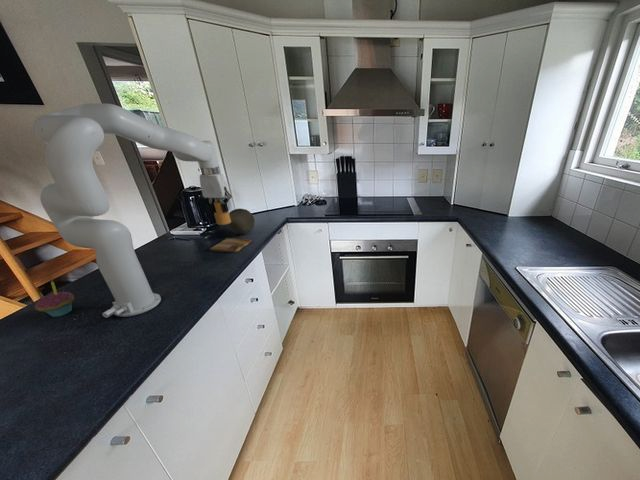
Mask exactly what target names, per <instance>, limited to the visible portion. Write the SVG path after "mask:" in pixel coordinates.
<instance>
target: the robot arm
mask: <svg viewBox="0 0 640 480" xmlns="http://www.w3.org/2000/svg"><path fill="white" fill-rule="evenodd" d="M32 130H33V132H34V134H35V136H36V137H37V138H38V139H39V140H40V141H41V142H43V143H44V144H46V147H45V153H44V160H45V164H46V168H47V169H48V172H49V174H50V176H51V178H52V180H53V182H52V183H49V184H47V185H46V186H43V188H42V189H41V192H40V198H39V199H40V203H41V205H42V207H43V208H42V209H44V211H45V213H46V215H47V216H48V218H49V219H50V221H51V223H52V224H53V226H54V228H55V229H56V231H57V233H58V234H59V235H60V237H61V238H62V239H63V240H64V241H65V242H66V243H67V244H69V245H71V246H73V247H77V248H82V249H91V250H94V252H95V262H96V266H97V269H98V270H99V272H100V274H101V275H102V278H103V279H104V281H105V283H106V286H107V287H108V289H109V291H110V293H111V295H112V297H113V299H114V300H115V301H112V306H111V307H110V309H107V310H106V311H104V312H102V313H101V316H102V317H104V318H105V319H108V318H109V317H111V316H112V315H115V316H117V317H123V318H125V317H126V318H127V317H133V316H138V315H141V314H144V313H146V312H148V311H151V310H152V309H154V308H155V307H158V305H159V304H160V303H161V301H162V296H161V295H160V294H158V293H155V292H153V290H152V287H151V286H150V284H149V281H148V278H147V276H146V274H145V272H144V269H143V267H142V265H141V263H140V261H139V259H138V256H137V254H136V252H135V251H136V250H135V247H134V244H133V243H134V242H133V237H132V234H131V231H130V229H129V228H128V227H127V226H126V225H124V224H123V223H121V222H120V221H116V220H114V219H108V218H98V217H100V216H103V215H105V214H106V213H108V212H109V210H110V205H111V204H110V201H109V198H108V196H107V194H106V192H105V190H104V188H103V186H102V183H101V181H100V179H99V177H98V176H97V173H96V171H95V168H94V164H93V158H94V155H95V153H96V151H97V149H98V148H100V147H101V145H102V144H103V143H104V140H105V135H114V136H119V137H121V138H124V139H127V140H129V141H131V142H134V143H137V144H138V145H142V146H144V147H147V148H150V149H154V150H159V151H166V152H172V155H173V156H174V157H175V158H176V159H177V160H179V161H183V162H192V163H193V162H196V163H197V164H198V169H197V170H198V172H200V174H199V185H200V189H201V193H202V195H201V197H202V198H204V199H206V201H207V202H208V203H209V204H210V206H211V208H212V212H213V213H215V212H216V209H215V206H214V202H217V199H219V201H221V203H222V204H221V207H222V211H223V213H225V212H227V211H228V212H229V207H228V203H229V201H230V200H231V199H232V198H233V196H232V194H231V193H230V192H229V188H228V185H227V182H226V179H225V177H224V175H223V174H222V172H221V168H220V164H219V161H218V157H217V151H216V148H215V145H214V143H213V142H212V141H211V140H201V138H200V139H199V138H197V137H195V136H193V135H190V134H189V133H185V132H182V131H180V130H176V129H173V128H170V127H167V126H164V125H161V124H158V123H156V122H153V121H152V120H149V119H147V118H145V117H143V116H141V115H139V114H136V113H134V112H133V111H130V110H128V109H127V108H124V107H121V106H119V105H116V104H112V103H84V104H80V105H75V106H72V107H68V108H65V109H61V110H57V111H53V112H49V113H46V114H42V115H40V116H38V117H37V118H35V120H34V121H33V123H32ZM94 217H95V218H94ZM96 217H97V218H96Z"/></svg>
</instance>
